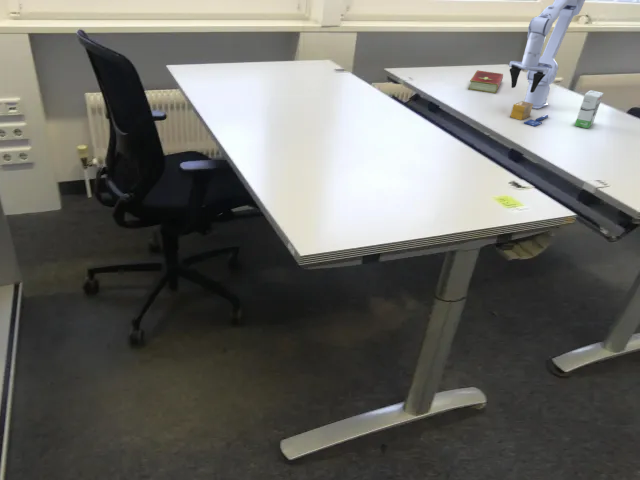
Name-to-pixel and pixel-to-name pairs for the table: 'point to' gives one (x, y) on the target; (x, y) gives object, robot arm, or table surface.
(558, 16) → the robot arm
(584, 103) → the ink box
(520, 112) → the block
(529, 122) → the spatula
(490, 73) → the hardcover book
